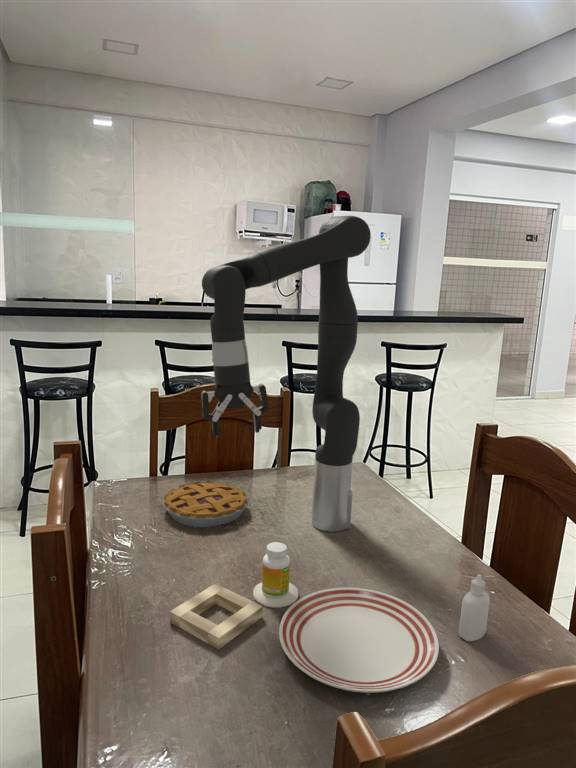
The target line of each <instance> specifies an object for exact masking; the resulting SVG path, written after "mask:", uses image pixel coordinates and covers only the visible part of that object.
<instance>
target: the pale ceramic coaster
mask: <svg viewBox="0 0 576 768" xmlns="http://www.w3.org/2000/svg"><path fill="white" fill-rule="evenodd" d="M252 594H253V599H254V600H255V601H256V603H257V604H259V603H260V604H259V605H261V606H263V607H267V608H271V609H272V608H273V609H280V608H286V607H289V606H290V607H291V606H292V605H293V604H294V603H295V602H297V601H298V600H299V590H298V587H297V586H296V585H294V584H293V583H292V582H289V591H288V593H287V595H286V596H284V597H281V598H270V597H267V596H266V595H264V594H263V592H262V581H261V582H260V583H257V584H256V586H254V587H253V591H252Z"/></svg>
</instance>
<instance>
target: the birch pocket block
mask: <svg viewBox="0 0 576 768" xmlns="http://www.w3.org/2000/svg"><path fill="white" fill-rule="evenodd" d="M214 604H215V605H217V606H219V607H221V608H224V609H225V610H227V611H229V612H231V613H233V614H232V615H230V616H229V617H228V618H226V619H225V620H224V621H222V622H221V623H219V624H216V623H214V622H212V621H211V620H210V619H207V618H206V617H203V616H201V614H202V613H204V612H205V611H207V610H209V609H210V608H211V607H213V606H215V605H214ZM263 610H264V606H263V605H261V604H259V603H258V602H255V601H253V600H251V599H248V598H246V597H244V596H243V595H241V594H238V593H236V592H233V591H232V590H229V589H228V588H225V587H223V586H221V585H219V584H218V583H214V584H212V585H211V586H209V587H207V588H205V589H204V590H202V591H201V592H199V593H198V594H195V596H192V597H191V598H189V599H187V600H186V601H185V602H182V603H181V604H180V605H178V606H176V607H175V608H173V609H171V610H170V611H169V623H170V624H172V625H174V626H176V627H178V628H180V629H181V630H183V631H185V632H186V633H189V634H190V635H192V636H194V637H195V638H197V639H199V640H201V641H203V642H204V643H206V644H208V645H210V646H211V647H213V648H215V649H217V650H220V649H221V648H223V647H224V646H225V645H227V644H228V643H229V642H231V641H232V640H233V639H234V638H237V636H239V635H240V634H242V633H243V632H244V631H245V630H247V629H248V628H250V627H251V626H252V625H254V624H255V623H256V622H257V621H259V620H260V619H262V618H263ZM250 625H251V626H250ZM246 628H247V629H246ZM230 640H231V641H230Z"/></svg>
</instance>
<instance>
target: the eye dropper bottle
mask: <svg viewBox="0 0 576 768" xmlns="http://www.w3.org/2000/svg"><path fill="white" fill-rule="evenodd" d="M470 582H471V583H470V590H469V591H468V592H467V593H466V594H464V597H463V599H462V603H461V610H460V618H459V619H460V620H459V625H458V626H459V627H458V637H460V638H462V640H464V641H466V642H475V641H479V640H481V639H482V638H483V637H484V636H485V634H486V632H487V625H488V619H489V610H490V609H489V608H490V603H491V602H490V601H491V598H490V594H488V592H486V585H487V584H486V582H485V581H484V580H483V579H482V574H480V573H478V574H476V577H475V578H472V579H471V581H470Z"/></svg>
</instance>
